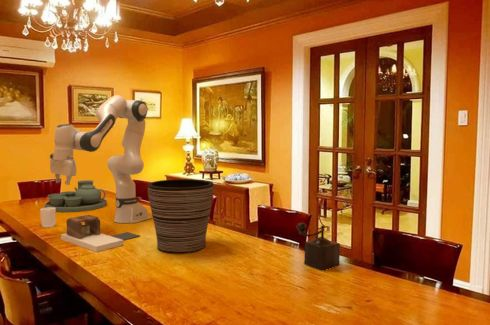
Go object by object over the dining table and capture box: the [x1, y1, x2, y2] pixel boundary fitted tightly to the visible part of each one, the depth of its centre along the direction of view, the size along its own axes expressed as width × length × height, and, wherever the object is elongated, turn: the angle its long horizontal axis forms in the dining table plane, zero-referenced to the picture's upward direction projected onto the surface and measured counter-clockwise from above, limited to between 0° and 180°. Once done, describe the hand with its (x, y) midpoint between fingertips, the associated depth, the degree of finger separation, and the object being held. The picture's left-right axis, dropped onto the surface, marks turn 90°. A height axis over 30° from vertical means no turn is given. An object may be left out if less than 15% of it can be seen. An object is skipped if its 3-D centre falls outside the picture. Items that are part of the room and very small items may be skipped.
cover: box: [66, 214, 101, 239], centre depth 202 cm, size 11×12×8 cm
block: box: [82, 224, 90, 237], centre depth 202 cm, size 4×4×7 cm
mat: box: [111, 231, 141, 242], centre depth 208 cm, size 11×11×1 cm
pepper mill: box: [296, 222, 341, 271], centre depth 165 cm, size 16×11×18 cm
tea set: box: [44, 179, 108, 213], centre depth 285 cm, size 40×40×16 cm
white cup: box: [39, 207, 57, 228], centre depth 229 cm, size 8×8×10 cm
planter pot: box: [147, 178, 215, 255], centre depth 190 cm, size 30×30×30 cm
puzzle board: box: [60, 232, 124, 253], centre depth 198 cm, size 14×32×2 cm, turn 51°
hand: (62, 183), depth 206 cm, fingers open, 8 cm apart
